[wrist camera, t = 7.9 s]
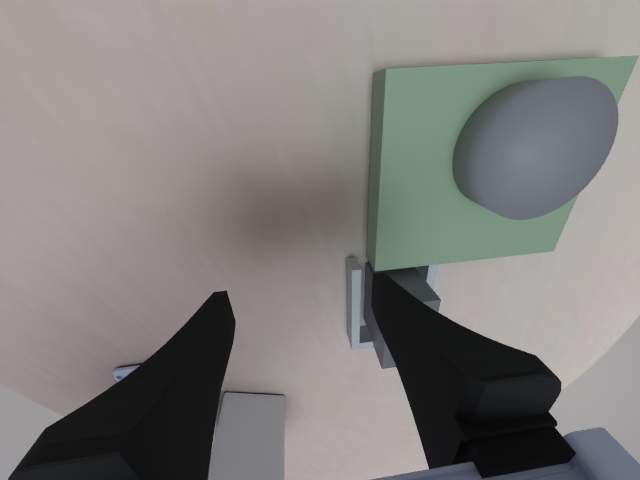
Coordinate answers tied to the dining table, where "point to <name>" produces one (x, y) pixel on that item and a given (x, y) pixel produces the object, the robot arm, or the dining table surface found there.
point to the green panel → (481, 161)
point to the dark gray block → (411, 283)
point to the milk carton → (249, 438)
